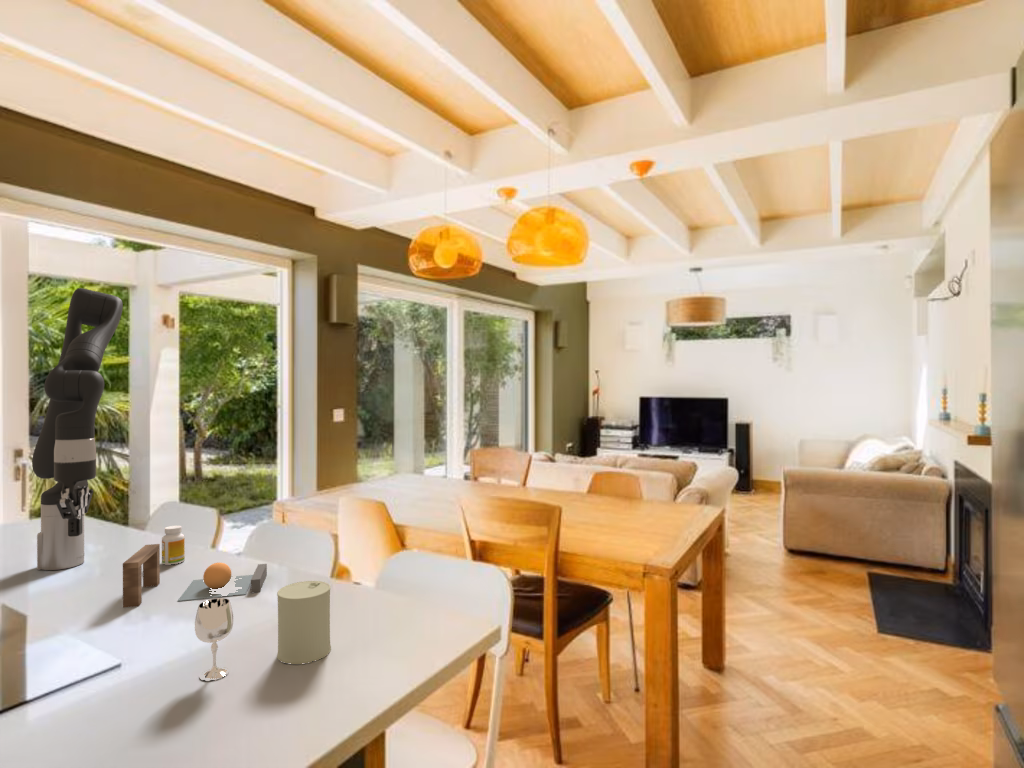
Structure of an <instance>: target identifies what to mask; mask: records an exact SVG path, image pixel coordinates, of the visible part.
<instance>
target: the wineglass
mask: <svg viewBox="0 0 1024 768" xmlns="http://www.w3.org/2000/svg"><path fill="white" fill-rule="evenodd" d="M232 608H233V607H232V605H231V602H230V599H228V598H226V597H218V598H210V599H206V600H205V601H203V602H200V603H199V604H198V607H197V610H196V615H195V618H194V632H195V635H196V638H197V639H198V640H199V641H201V642H203V643H207V644H208V643H209V644H211V646H210V651H211V654H212V667H211V668H210V669H211V670H210V669H208V670H209V671H207V670H206V671H207V672H206V673H205V674H204V675H205V678H210V679H211V678H212V679H213V678H214V679H215V678H216V679H217V678H221V677H224V676H225V677H227V676H226V675H225V674H226V671H227V670H225V669H222V668H219V667H217V652H218V650H219V649H218V648H219V646H218V643H217V642H220V641H222V640H224V639H226V638H227V637H228V636H229V635H230V634H231V632H232V631H233V627H234V612H233V609H232ZM225 677H224V678H225ZM221 679H222V678H221Z"/></svg>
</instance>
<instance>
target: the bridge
mask: <svg viewBox="0 0 1024 768" xmlns="http://www.w3.org/2000/svg"><path fill="white" fill-rule="evenodd" d="M160 546H161V545H160V543H154V544H145V545H143V546H142V547H141V548H140V549H139V550H138V551H136V552H134V554H132V555H131V556H130V557H128V559H126V560H125V561H124V562H123V563H122V609H123V608H124V609H126V608H132V607H135V608H137V607H140V605H141V604H142V602H143V601H142V600H143V599H142V598H143V597H142V595H143V594H142V590H143V589H142V587H143V588H149V587H150V588H151V587H152V588H153V587H158V586H159V585H160V583H161V579H160V578H161V576H160V574H161V572H160V571H161V570H160V569H161V568H160V567H161V565H160V564H161V563H160V562H161V559H160V557H161V556H160V555H161V554H160V553H161V552H160V548H161V547H160Z"/></svg>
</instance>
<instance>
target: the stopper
mask: <svg viewBox="0 0 1024 768" xmlns="http://www.w3.org/2000/svg"><path fill="white" fill-rule="evenodd" d="M267 564H268V563H260V564H257V566H256V568H255V570H254V573H253V574H252V575H253V576H252V579H251V584H250V593H251V594H252V593H253V592H254V593H261V591H262V589H261V588H263V585H264V584H265V580H266V578H267V576H268V575H267V573H268V572H267V569H268V565H267ZM263 583H264V584H263Z"/></svg>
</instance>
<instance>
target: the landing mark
mask: <svg viewBox="0 0 1024 768" xmlns="http://www.w3.org/2000/svg"><path fill="white" fill-rule="evenodd" d="M235 576H236V578H235V579H238V580H236V581H234V582H235V583H236V584H235V587H242V589H238V590H236V591H238V592H235V593H229V594H228V595H227V596H228V597H234V596H233V595H239V596H246V595H247V593H248V591H247V590H249V588H250V587H251V579H252V576H253V574H245V575H235ZM239 578H242V579H239ZM209 590H211V589H210V588H209V587H208V586H207V585H206V584H205V583H204V582H203V578H201V579H193V580H192V581H191V582H190V583H189V585H188V587H186V589H185V591H184V592H183V593H182V594H181V596H180V597H179V598H178V600H177V602H187V601H196V600H205V599H204V598H208V599H214V598H213V597H218V598H222V597H221V596H222V595H221V594H211V593H209V592H212V591H209ZM214 592H216V591H214ZM246 592H247V593H246ZM210 595H212V596H210Z"/></svg>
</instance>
